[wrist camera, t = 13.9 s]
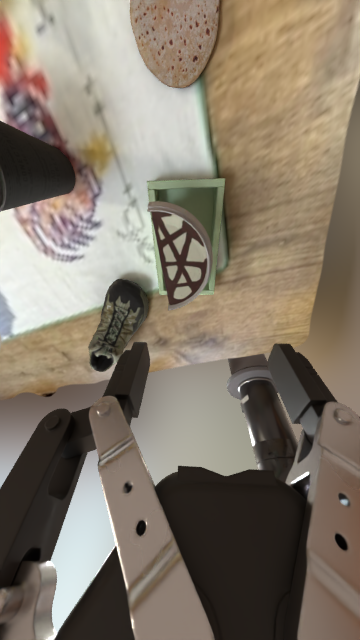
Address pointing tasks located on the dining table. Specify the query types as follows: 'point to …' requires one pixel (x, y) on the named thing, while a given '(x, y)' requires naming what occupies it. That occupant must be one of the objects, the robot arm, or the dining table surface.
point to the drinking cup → (30, 169)
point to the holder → (199, 201)
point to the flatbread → (175, 37)
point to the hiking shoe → (117, 323)
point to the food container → (181, 252)
